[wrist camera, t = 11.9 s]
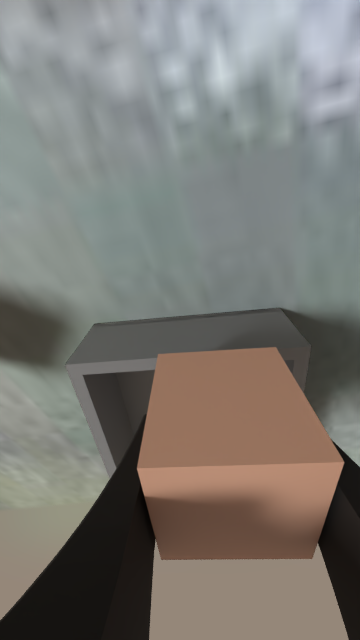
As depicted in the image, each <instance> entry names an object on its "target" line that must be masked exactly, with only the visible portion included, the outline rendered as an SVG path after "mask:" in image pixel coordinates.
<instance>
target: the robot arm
mask: <svg viewBox="0 0 360 640" xmlns="http://www.w3.org/2000/svg"><path fill="white" fill-rule="evenodd" d="M146 417H147V414H145V415H144V416H143V418H142V420H141V422H140V425H139V427H138V429H137V431H136V433H135V435H134V437H133V439H132V441H131V443H130V445H129V447H128V449H127V451H126V452H125V454H124V456H123V458H122V460H121V461H120V463H119V465H118V467H117V468H116V470H115V472H114V473H113V475H112V477H111V478H110V480H109V481H108V483H107V485H106V486H105V488H104V490H103V491H102V493H101V494H100V496H99V497H98V499H97V500H96V502H95V503H94V505H93V506H92V508H91V509H90V511H89V512H88V514H87V515H86V516H85V518H84V519H83V520H82V522H81V524H80V525H79V526H78V527H77V529H76V530H75V531H74V533H73V534H72V535H71V537H70V538H69V539H68V541H67V542H66V544H65V545H64V546H63V547H62V549H61V550H60V551H59V552H58V554H57V555H56V556H55V557H54V559H53V560H52V561H51V562H50V563H49V565H48V566H47V567H46V568H45V569H44V571H43V572H42V573H41V574H40V575H39V577H38V578H37V579H36V580H35V581H34V583H33V584H32V585H31V586H30V587H29V589H28V590H27V591H26V592H25V593H24V595H23V596H22V597H21V598H20V599H19V600H18V601H17V603H16V604H15V605H14V606H13V607H12V608H11V609H10V610H9V612H8V613H7V614H6V615H5V616H4V617H3V618H2V619H1V620H0V640H149V627H150V610H151V592H152V576H153V560H154V548H155V539H156V538H155V534H154V530H153V527H152V523H151V519H150V515H149V512H148V508H147V504H146V501H145V497H144V493H143V489H142V486H141V482H140V478H139V474H138V471H137V465H138V460H139V454H140V449H141V444H142V438H143V433H144V427H145V422H146ZM332 442H333V441H332ZM333 444H334V445H335V447H336V449H337V451H338V452H339V454H340V456H341V457H342V459H343V461H344V465H343V468H342V471H341V474H340V477H339V480H338V483H337V486H336V489H335V492H334V495H333V498H332V501H331V504H330V507H329V510H328V513H327V516H326V519H325V522H324V525H323V528H322V531H321V534H320V537H319V540H318V544H319V547H320V550H321V552H322V556H323V559H324V562H325V565H326V568H327V571H328V574H329V577H330V580H331V583H332V586H333V589H334V592H335V596H336V599H337V602H338V605H339V608H340V612H341V615H342V618H343V621H344V624H345V628H346V631H347V634H348V638H349V640H360V467H359V466H358V465H357V464H356V463H355V462H354V461H353V460H352V459H351V458H350V457H349V456H348V455H347V454H346V453H345V452H344V451H342V450H341V449H340V448H339V447H338V446H337V445H336V444H335V443H334V442H333Z"/></svg>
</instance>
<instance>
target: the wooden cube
mask: <svg viewBox="0 0 360 640" xmlns="http://www.w3.org/2000/svg"><path fill="white" fill-rule="evenodd" d="M343 465H344V461H343V459H342V457H341V456H340V454H339V452H338V451H337V449H336V447H335V445H334V444H333V442H332V440H331V439H330V437H329V435H328V434H327V432H326V430H325V429H324V427H323V425H322V424H321V422H320V420H319V419H318V417H317V415H316V414H315V412H314V410H313V409H312V407H311V405H310V404H309V402H308V400H307V398H306V397H305V395H304V393H303V392H302V390H301V388H300V387H299V385H298V383H297V382H296V380H295V378H294V377H293V375H292V373H291V372H290V370H289V368H288V367H287V365H286V363H285V362H284V360H283V358H282V357H281V355H280V353H279V352H278V350H277V348H276V347H268V348H252V349H235V350H218V351H201V352H184V353H167V354H158V357H157V363H156V368H155V373H154V379H153V384H152V390H151V395H150V400H149V406H148V411H147V417H146V422H145V427H144V433H143V438H142V444H141V449H140V454H139V460H138V465H137V471H138V474H139V478H140V482H141V486H142V489H143V493H144V497H145V501H146V504H147V508H148V512H149V515H150V519H151V523H152V527H153V530H154V534H155V538H156V542H157V545H158V549H159V552H160V557H161V559H162V560H177V559H178V560H182V559H183V560H187V559H312V558H313V555H314V552H315V549H316V546H317V543H318V540H319V537H320V534H321V531H322V528H323V525H324V522H325V519H326V516H327V513H328V510H329V507H330V504H331V501H332V498H333V495H334V492H335V489H336V486H337V483H338V480H339V477H340V474H341V471H342V468H343Z"/></svg>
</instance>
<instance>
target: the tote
mask: <svg viewBox="0 0 360 640" xmlns="http://www.w3.org/2000/svg"><path fill="white" fill-rule="evenodd" d="M268 347H276V348H277V350H278V352H279V353H280V355H281V357H282V358H283V360H284V362H285V363H286V365H287V367H288V368H289V370H290V372H291V373H292V375H293V377H294V378H295V380H296V382H297V383H298V385H299V387H300V388H301V390H302V392H303V393H304V391H305V384H306V378H307V372H308V366H309V359H310V353H311V347H312V346H311V345H310V344H309V343H308V342H307V340H306V339H305V338H304V337H303V335H302V334H301V333H300V332H299V331H298V329H297V328H296V327H295V326H294V325H293V323H292V322H291V321H290V320H289V319H288V317H287V316H286V315H285V314H284V313H283V311H282V310H281V309H280V308H272V309H260V310H249V311H237V312H225V313H214V314H202V315H191V316H179V317H167V318H156V319H144V320H133V321H121V322H109V323H98V324H94V325H93V326H92V328H91V329H90V331H89V332H88V333H87V335H86V336H85V337H84V339H83V340H82V342H81V343H80V344H79V346H78V347H77V349H76V350H75V351H74V353H73V354H72V355H71V357H70V358H69V360H68V361H67V362H66V364H65V367H66V369H67V372H68V374H69V377H70V379H71V382H72V384H73V387H74V389H75V392H76V395H77V397H78V400H79V402H80V405H81V407H82V410H83V412H84V415H85V417H86V420H87V422H88V425H89V427H90V430H91V432H92V435H93V437H94V440H95V443H96V445H97V448H98V450H99V453H100V455H101V458H102V460H103V463H104V465H105V468H106V470H107V473H108V475H109V478H111V477H112V475H113V473H114V472H115V470H116V468H117V467H118V465H119V463H120V461H121V460H122V458H123V456H124V454H125V452H126V451H127V449H128V447H129V445H130V443H131V441H132V439H133V437H134V435H135V433H136V431H137V429H138V427H139V425H140V422H141V420H142V418H143V416H144V415H145V414H147V411H148V406H149V400H150V395H151V390H152V384H153V379H154V373H155V368H156V363H157V357H158V354H167V353H184V352H201V351H218V350H235V349H252V348H268Z"/></svg>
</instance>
